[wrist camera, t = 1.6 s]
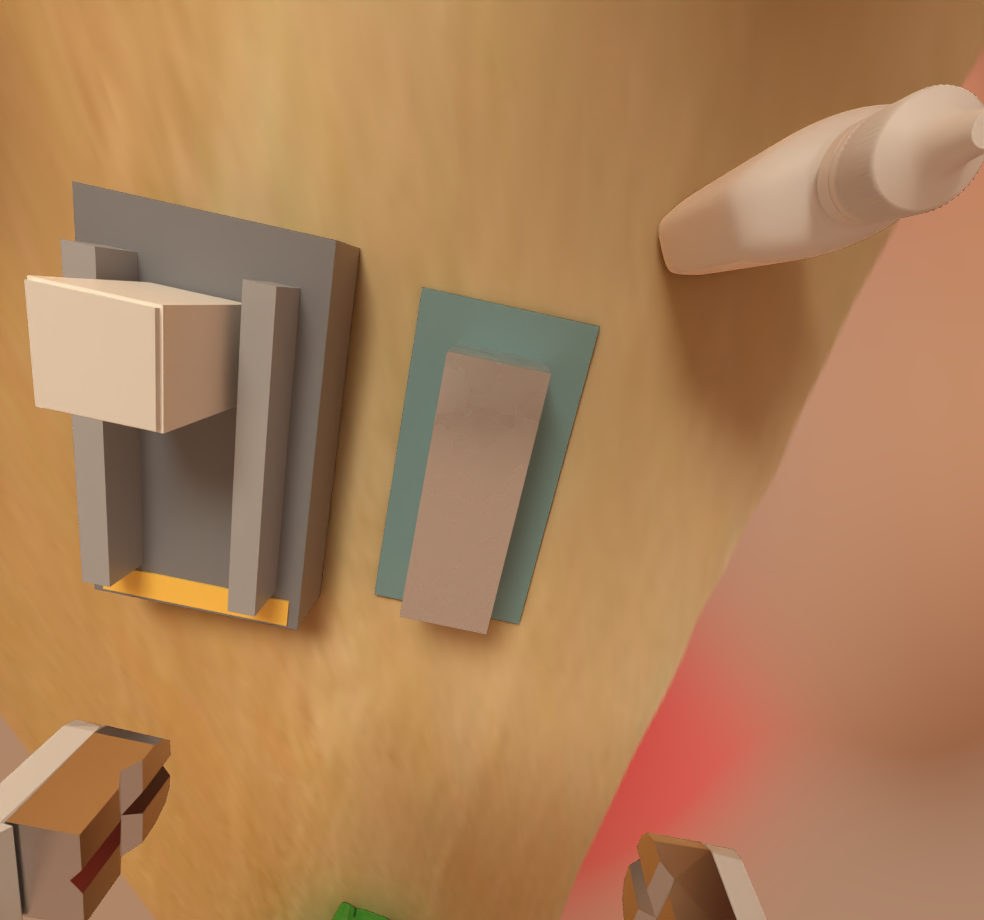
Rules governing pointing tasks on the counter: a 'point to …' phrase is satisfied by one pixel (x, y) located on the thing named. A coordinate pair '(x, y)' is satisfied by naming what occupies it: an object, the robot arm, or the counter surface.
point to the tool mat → (568, 363)
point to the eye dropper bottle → (830, 184)
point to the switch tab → (132, 351)
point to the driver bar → (472, 484)
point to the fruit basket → (355, 914)
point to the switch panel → (219, 417)
